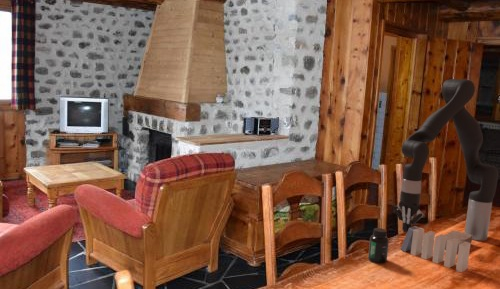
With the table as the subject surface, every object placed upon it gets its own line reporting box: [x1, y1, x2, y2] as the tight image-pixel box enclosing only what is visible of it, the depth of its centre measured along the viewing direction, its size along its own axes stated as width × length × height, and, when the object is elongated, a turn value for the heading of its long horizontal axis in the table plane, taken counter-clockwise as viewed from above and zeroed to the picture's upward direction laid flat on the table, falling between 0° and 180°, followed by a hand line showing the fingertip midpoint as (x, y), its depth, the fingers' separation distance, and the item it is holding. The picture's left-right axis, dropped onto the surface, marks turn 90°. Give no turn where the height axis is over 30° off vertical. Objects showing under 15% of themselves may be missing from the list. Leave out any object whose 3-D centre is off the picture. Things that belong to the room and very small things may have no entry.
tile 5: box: [443, 238, 458, 269], centre depth 169 cm, size 5×2×10 cm, turn 132°
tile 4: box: [432, 233, 446, 264], centre depth 172 cm, size 5×2×10 cm, turn 132°
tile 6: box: [455, 242, 472, 273], centre depth 165 cm, size 5×2×10 cm, turn 132°
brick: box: [444, 230, 473, 253], centre depth 190 cm, size 17×8×5 cm, turn 134°
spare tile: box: [400, 225, 419, 253], centre depth 181 cm, size 5×2×10 cm, turn 132°
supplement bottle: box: [368, 227, 390, 265], centre depth 170 cm, size 7×7×12 cm
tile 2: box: [410, 227, 425, 257], centre depth 179 cm, size 5×2×10 cm, turn 132°
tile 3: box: [420, 230, 436, 260], centre depth 175 cm, size 5×2×10 cm, turn 132°
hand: (406, 231), depth 182 cm, fingers closed
